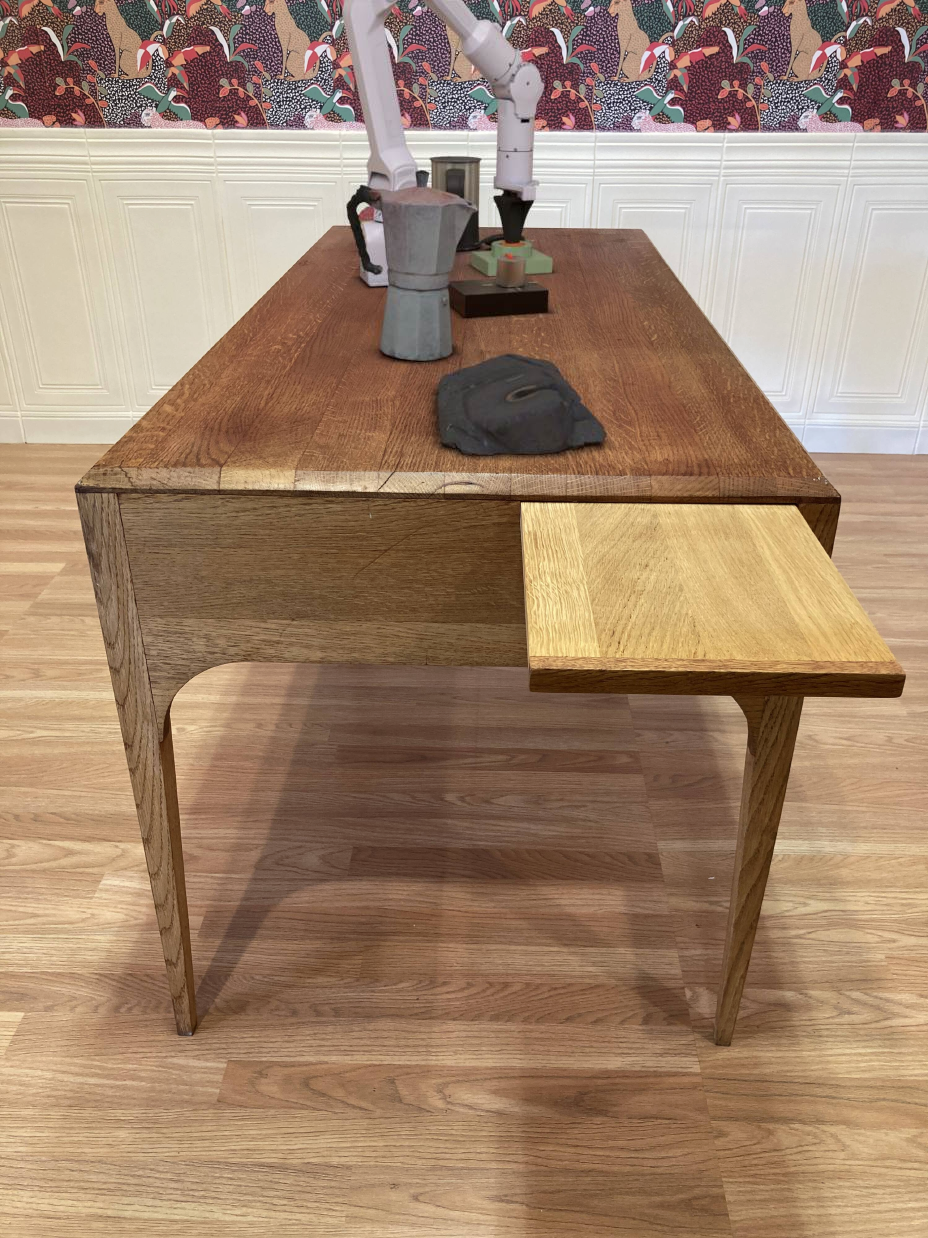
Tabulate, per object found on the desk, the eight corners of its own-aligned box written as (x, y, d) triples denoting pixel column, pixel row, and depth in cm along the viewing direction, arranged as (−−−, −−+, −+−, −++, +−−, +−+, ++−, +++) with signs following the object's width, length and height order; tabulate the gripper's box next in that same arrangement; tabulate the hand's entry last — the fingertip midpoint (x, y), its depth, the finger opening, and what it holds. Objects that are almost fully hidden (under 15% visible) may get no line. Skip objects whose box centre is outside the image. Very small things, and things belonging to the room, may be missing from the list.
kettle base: (488, 276, 154) (488, 249, 152) (471, 265, 161) (471, 240, 159) (552, 272, 156) (553, 246, 154) (532, 262, 164) (533, 237, 162)
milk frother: (424, 243, 178) (423, 155, 170) (504, 239, 182) (506, 153, 175) (445, 257, 166) (445, 163, 159) (531, 253, 171) (534, 161, 163)
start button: (504, 256, 156) (505, 244, 155) (497, 252, 159) (498, 240, 158) (525, 255, 157) (526, 243, 156) (518, 251, 160) (518, 240, 159)
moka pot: (467, 367, 110) (470, 176, 100) (339, 358, 113) (328, 171, 103) (483, 345, 118) (486, 166, 108) (362, 337, 121) (354, 162, 111)
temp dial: (528, 286, 133) (530, 257, 131) (501, 288, 132) (502, 259, 130) (519, 280, 137) (520, 252, 135) (492, 282, 136) (493, 253, 134)
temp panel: (465, 317, 130) (465, 293, 129) (446, 302, 138) (446, 279, 136) (548, 312, 133) (549, 288, 132) (526, 297, 141) (526, 275, 139)
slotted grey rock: (571, 381, 106) (573, 337, 104) (610, 453, 87) (615, 402, 85) (432, 383, 105) (431, 339, 103) (442, 457, 86) (442, 405, 84)
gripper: (556, 153, 145) (551, 249, 152) (523, 145, 157) (520, 234, 164) (512, 154, 143) (509, 251, 150) (482, 146, 155) (480, 235, 162)
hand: (512, 242), depth 157 cm, fingers closed, pressing on start button
